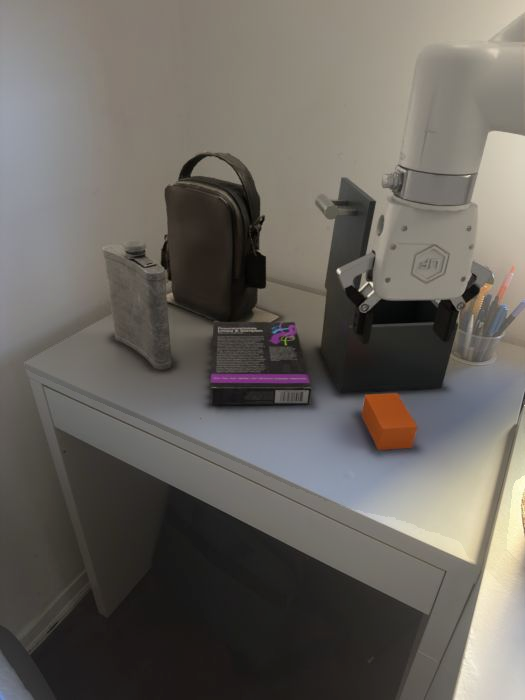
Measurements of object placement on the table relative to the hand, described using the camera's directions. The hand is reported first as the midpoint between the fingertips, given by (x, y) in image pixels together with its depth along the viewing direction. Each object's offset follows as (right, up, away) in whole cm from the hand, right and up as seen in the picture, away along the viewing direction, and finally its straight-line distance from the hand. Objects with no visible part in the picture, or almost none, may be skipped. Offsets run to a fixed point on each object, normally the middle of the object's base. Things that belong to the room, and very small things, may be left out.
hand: (401, 337), depth 58 cm
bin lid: (-4, +12, +10) cm, 16 cm away
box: (-17, -4, +19) cm, 26 cm away
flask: (-35, -2, +23) cm, 42 cm away
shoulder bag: (-25, +6, +37) cm, 45 cm away
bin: (+2, -4, +20) cm, 21 cm away
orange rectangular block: (0, -12, +7) cm, 14 cm away
